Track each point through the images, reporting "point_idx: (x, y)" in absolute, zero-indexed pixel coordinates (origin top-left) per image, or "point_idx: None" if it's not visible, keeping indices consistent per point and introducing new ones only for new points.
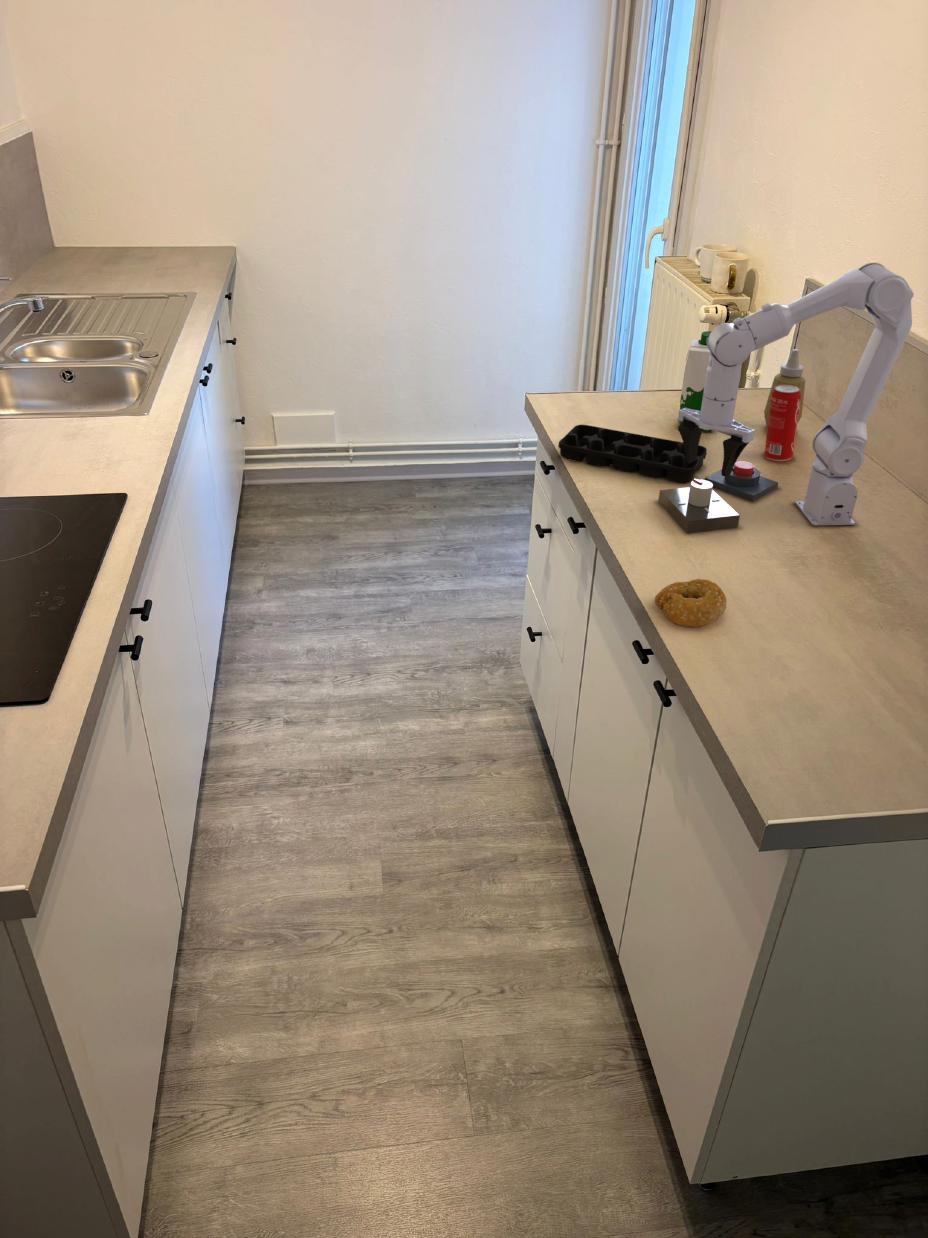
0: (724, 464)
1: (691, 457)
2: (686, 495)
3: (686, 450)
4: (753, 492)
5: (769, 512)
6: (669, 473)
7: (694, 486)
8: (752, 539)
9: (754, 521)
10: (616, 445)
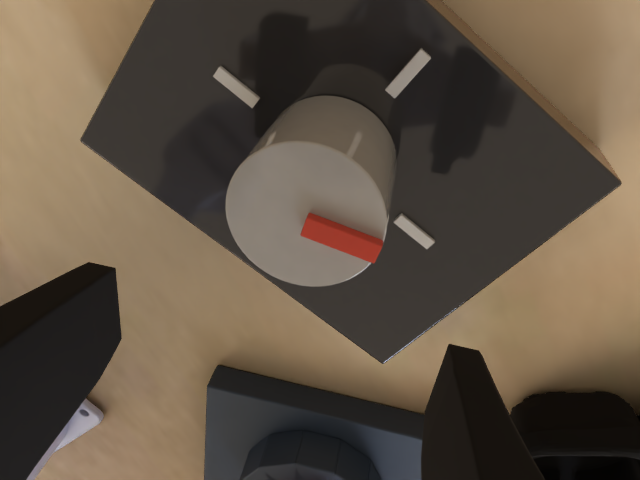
0: (14, 317)
1: (441, 400)
2: (432, 203)
3: (499, 438)
4: (221, 407)
5: (124, 320)
6: (627, 419)
7: (328, 153)
8: (4, 44)
9: (113, 221)
10: None
